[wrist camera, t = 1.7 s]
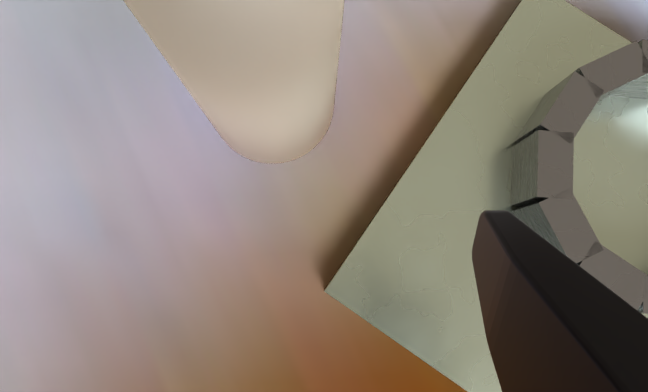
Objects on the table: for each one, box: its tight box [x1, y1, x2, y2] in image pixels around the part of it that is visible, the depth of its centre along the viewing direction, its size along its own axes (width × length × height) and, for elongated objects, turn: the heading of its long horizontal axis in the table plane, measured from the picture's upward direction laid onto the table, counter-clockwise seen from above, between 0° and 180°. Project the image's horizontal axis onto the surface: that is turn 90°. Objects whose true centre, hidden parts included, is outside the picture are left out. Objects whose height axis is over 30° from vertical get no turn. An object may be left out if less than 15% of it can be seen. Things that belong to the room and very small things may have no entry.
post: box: [123, 0, 344, 164], centre depth 15 cm, size 5×5×13 cm
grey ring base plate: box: [324, 0, 648, 392], centre depth 19 cm, size 15×14×4 cm
